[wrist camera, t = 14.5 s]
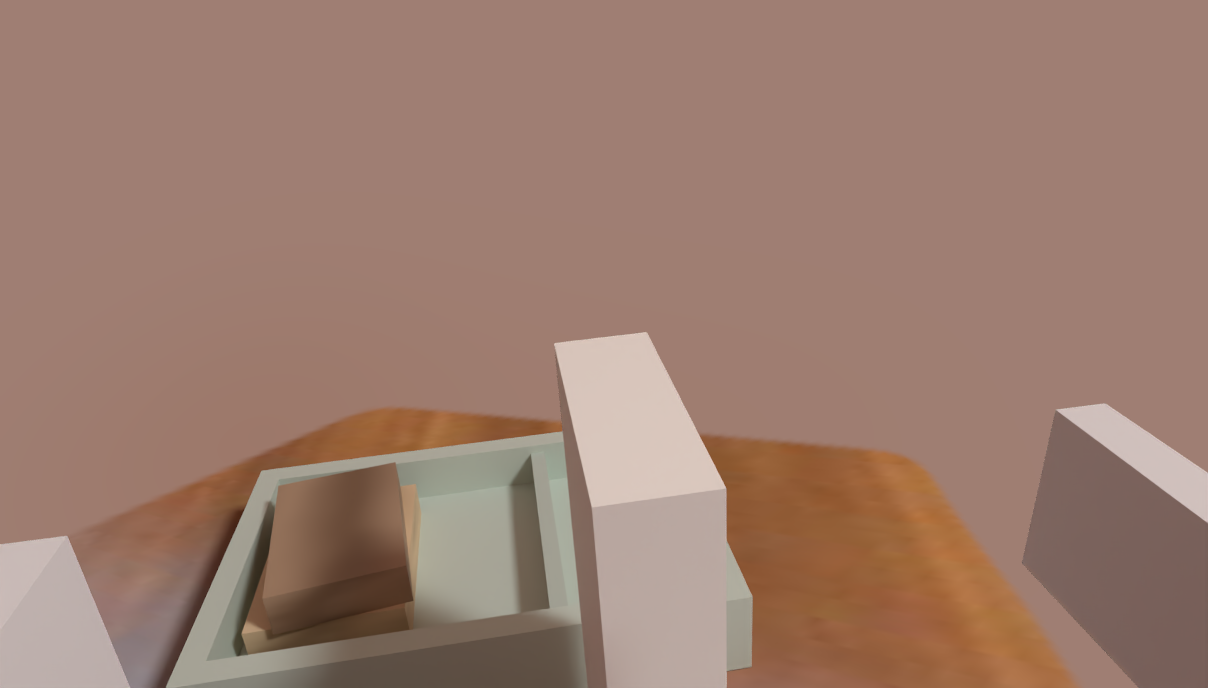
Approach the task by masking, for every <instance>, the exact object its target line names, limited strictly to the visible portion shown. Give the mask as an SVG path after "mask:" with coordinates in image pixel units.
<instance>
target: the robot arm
mask: <svg viewBox="0 0 1208 688" xmlns="http://www.w3.org/2000/svg"><path fill="white" fill-rule="evenodd" d="M1022 564H1023V565H1024V566H1025V567H1026V568H1027V569H1028V570H1029V571H1030V572H1031V573H1032V574H1033V576H1034V577H1035V578H1036V579H1037V580H1038V581H1039V582H1040V583H1041V584H1042V585H1043V586H1044V587H1045V588H1046V589H1047V590H1048V592H1049V593H1050V594H1051V595H1052V596H1053V597H1054V598H1055V599H1056V600H1057V601H1058V602H1059V603H1060V604H1061V605H1062V606H1063V607H1064V608H1065V609H1066V611H1067V612H1068V613H1069V614H1070V615H1071V616H1072V617H1073V618H1074V619H1075V620H1076V621H1077V622H1078V624H1080V626H1081V627H1082V628H1083V629H1084V630H1085V631H1086V632H1087V633H1088V634H1089V635H1090V636H1091V637H1092V638H1093V639H1094V641H1095V642H1096V643H1097V644H1098V645H1099V646H1100V647H1101V648H1102V649H1103V650H1104V651H1105V652H1106V653H1107V654H1108V656H1109V657H1110V658H1111V659H1112V660H1113V661H1114V662H1115V663H1116V664H1117V665H1118V666H1119V667H1120V668H1121V669H1122V670H1123V672H1124V673H1125V674H1126V675H1127V676H1128V677H1129V678H1130V679H1131V680H1132V681H1133V682H1134V683H1135V684H1136V685H1137V686H1138V687H1139V688H1208V473H1207V472H1206V471H1204V470H1203V469H1201V468H1200V467H1198V466H1197V465H1195V464H1194V463H1192V462H1191V461H1189V460H1188V459H1186V458H1185V457H1183V456H1182V455H1180V454H1179V453H1177V452H1176V451H1175V450H1173V449H1172V448H1170V447H1169V446H1167V445H1166V444H1164V443H1163V442H1161V441H1160V440H1158V439H1157V438H1155V437H1154V436H1152V435H1151V434H1150V433H1148V432H1146V431H1145V430H1144V429H1142V428H1140V427H1139V426H1138V425H1136V424H1135V423H1133V422H1132V421H1130V420H1129V419H1127V418H1126V417H1124V416H1123V415H1121V414H1120V413H1118V412H1117V411H1116V410H1114V409H1113V408H1111V407H1110V406H1108V405H1107V404H1097V405H1089V406H1081V407H1073V408H1066V409H1058V410H1056V411H1055V416H1054V420H1053V424H1052V429H1051V433H1050V438H1049V442H1048V447H1047V451H1046V456H1045V461H1044V466H1043V470H1042V474H1041V479H1040V483H1039V488H1038V492H1037V497H1036V501H1035V506H1034V511H1033V515H1032V520H1031V524H1030V529H1029V534H1028V538H1027V543H1026V547H1025V552H1024V556H1023V560H1022ZM0 688H130V686H129V684H128V682H127V679H126V677H125V674H124V672H123V669H122V667H121V665H120V662H119V660H118V657H117V655H116V653H115V650H114V648H113V645H112V643H111V640H110V638H109V636H108V633H107V631H106V628H105V626H104V624H103V621H102V619H101V616H100V614H99V611H98V609H97V607H96V604H95V602H94V599H93V597H92V595H91V592H90V590H89V587H88V585H87V583H86V580H85V578H84V575H83V573H82V570H81V568H80V566H79V563H78V561H77V558H76V556H75V554H74V551H73V549H72V546H71V544H70V541H69V539H68V537H67V536H62V537H54V538H47V539H39V540H31V541H23V542H15V543H8V544H0Z"/></svg>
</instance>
